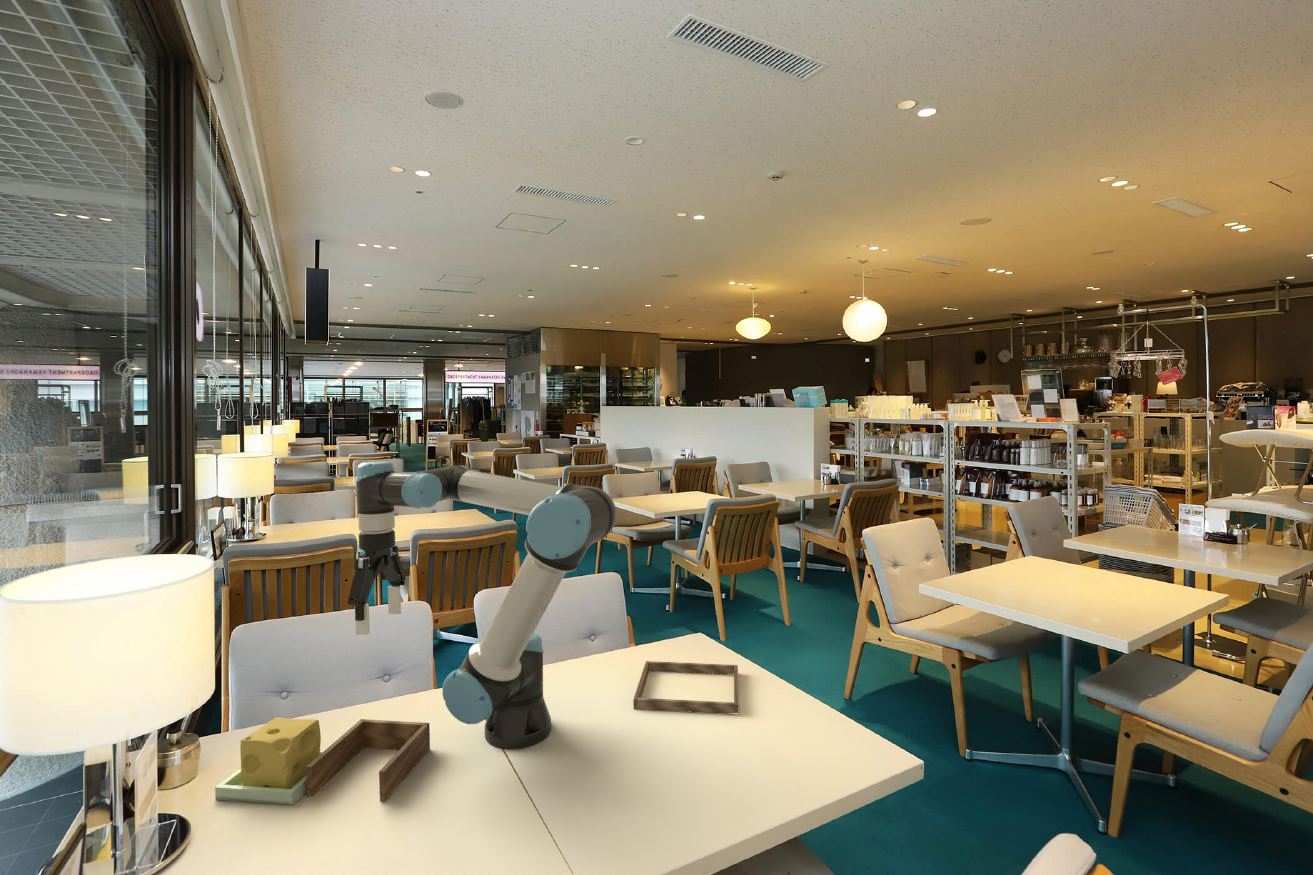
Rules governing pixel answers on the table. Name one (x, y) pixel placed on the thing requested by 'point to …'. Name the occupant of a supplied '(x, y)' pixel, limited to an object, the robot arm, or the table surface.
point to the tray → (259, 791)
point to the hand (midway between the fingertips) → (379, 623)
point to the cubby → (378, 735)
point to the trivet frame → (686, 704)
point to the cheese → (279, 752)
